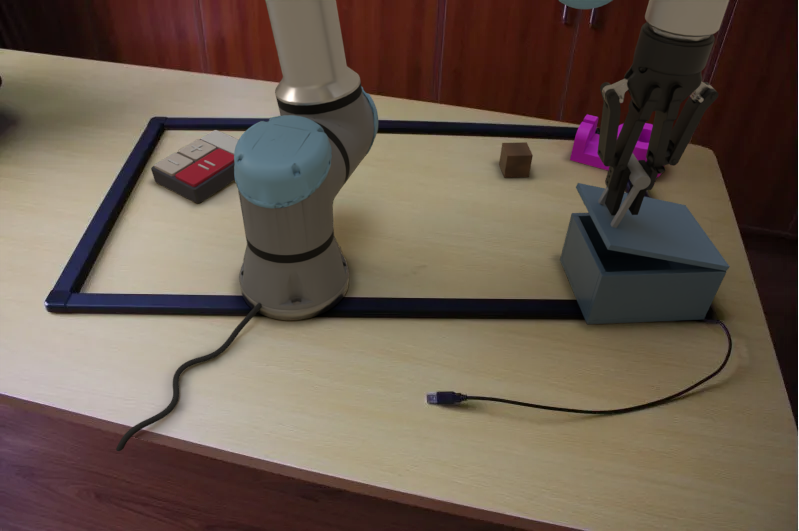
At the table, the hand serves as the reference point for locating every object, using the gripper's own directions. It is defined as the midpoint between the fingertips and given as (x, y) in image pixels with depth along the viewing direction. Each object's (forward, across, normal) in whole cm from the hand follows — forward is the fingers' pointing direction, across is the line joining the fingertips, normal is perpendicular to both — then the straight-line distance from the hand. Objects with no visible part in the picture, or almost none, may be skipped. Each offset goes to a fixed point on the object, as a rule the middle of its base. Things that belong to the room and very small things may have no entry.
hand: (621, 208), depth 83 cm
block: (+14, +5, -32) cm, 35 cm away
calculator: (+15, +59, -33) cm, 69 cm away
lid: (+3, -5, 0) cm, 6 cm away
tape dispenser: (+14, -15, -34) cm, 40 cm away
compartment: (+14, -5, 0) cm, 15 cm away
